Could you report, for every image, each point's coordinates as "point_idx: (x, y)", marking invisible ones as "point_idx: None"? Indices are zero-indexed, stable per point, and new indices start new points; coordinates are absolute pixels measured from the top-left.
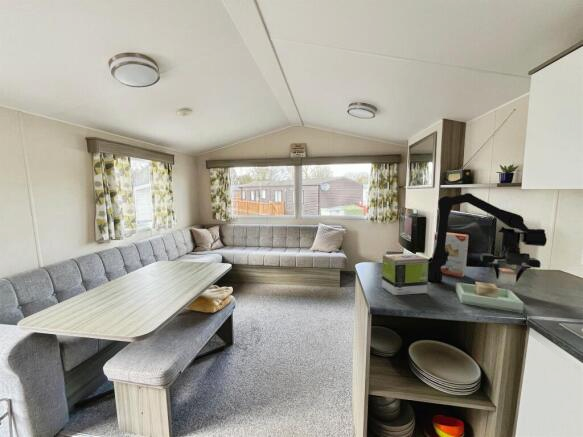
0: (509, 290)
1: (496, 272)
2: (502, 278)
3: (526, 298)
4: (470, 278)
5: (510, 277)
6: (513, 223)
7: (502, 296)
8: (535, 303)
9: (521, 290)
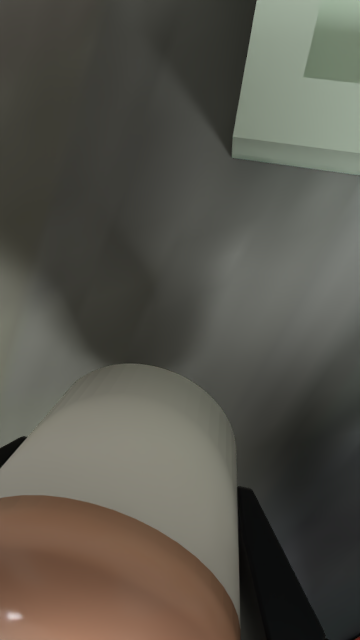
0: (265, 80)
1: (298, 609)
2: (210, 455)
3: (53, 226)
4: (314, 606)
5: (97, 440)
6: None
7: (349, 78)
8: (16, 81)
9: (30, 424)
